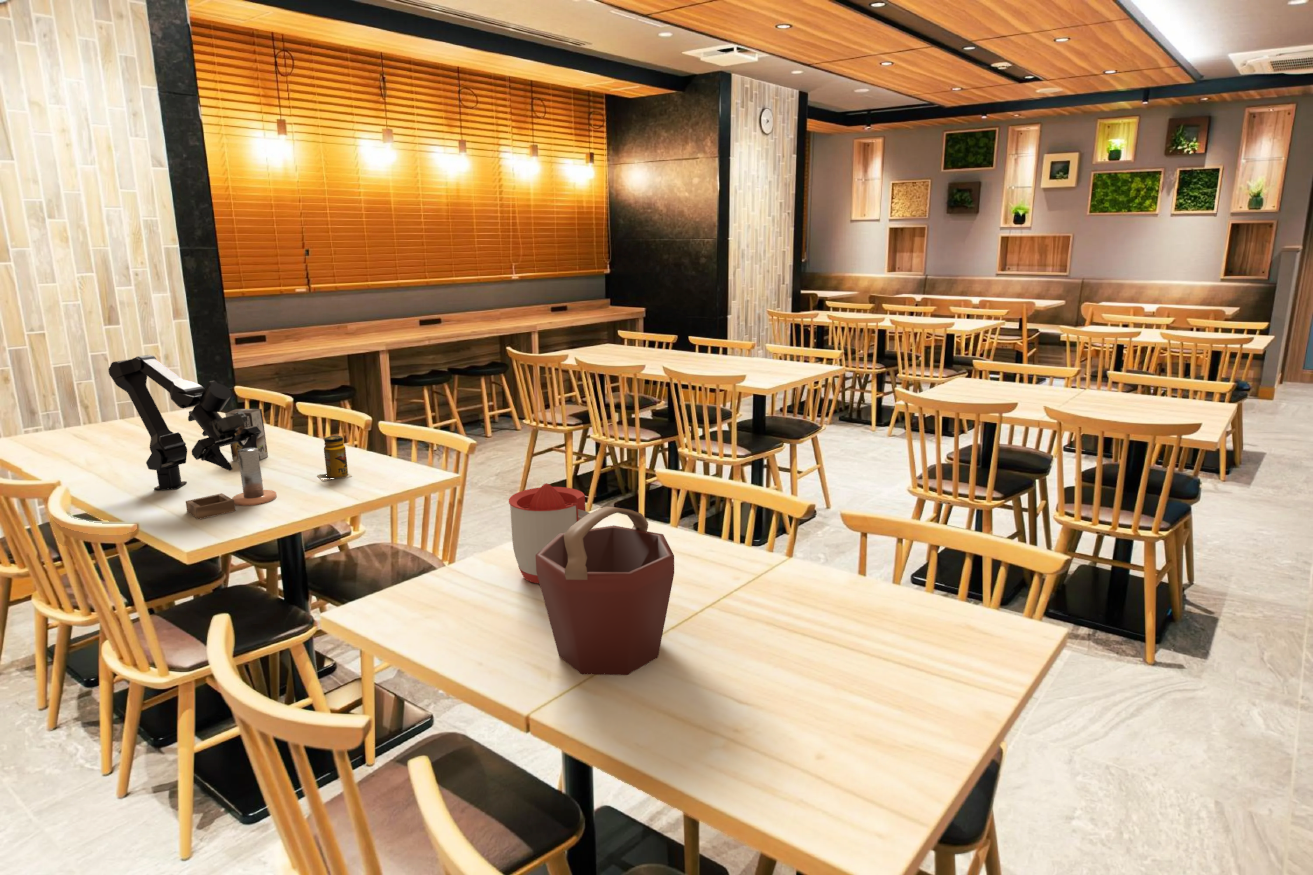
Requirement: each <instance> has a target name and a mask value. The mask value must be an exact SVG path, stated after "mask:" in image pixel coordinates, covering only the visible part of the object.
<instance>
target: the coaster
mask: <svg viewBox="0 0 1313 875" xmlns="http://www.w3.org/2000/svg"><path fill="white" fill-rule="evenodd" d="M263 491H264V495H263V496H261V497H258V498H244V494H243V492H240V493H239V494H235V495H234V496H233V497H231V499H233V500H234V503H235V506H243V507H244V506H256V505H262V504H267V503H268V502H272V501H274V500H275V499H276V498H277V492H276V491H275V490H272V489H263ZM273 499H274V500H273ZM261 503H262V504H261Z"/></svg>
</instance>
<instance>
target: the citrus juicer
mask: <svg viewBox="0 0 1313 875" xmlns="http://www.w3.org/2000/svg"><path fill="white" fill-rule="evenodd" d="M508 504H509V507H510V524H511V538H512V539H511V540H512V541H511V542H512V547H513V548H512V549H513V552H514V558H515V561H516V563H517V565H518V569H519V571H520V573H521V575H522V577H523V579H525V580H526V581H528V582H531V583H535V584H540V583H539V580H538V576H537V572H536V554H537V553H538V552H539V551H540V550H541V549H543V548H544V547H545V546H546V545H547V544H548V543H549V542H551V541H552V540H553V539H554V538H555V537H556V536H557V535H558V534H561V533H566V532H567V531H568V529H569V528H570V527H571V526H572V525H574V524H575V523H576V522H577V521H579V520H580V519H582V518H583V517H585V516H586V515H587V514H589V513H590V512H588V511H586V510H587V509H586V495H585V494H584V492H582V491H581V490H580V489H579V490H578V489H576V488H571V487H564V486H552V485H551V484H549V483H547V482H546V483H544V484H543V485H541V486H540V487H535V488H529V489H525V490H521V491H518V492H516V493H513V495H511V496H510V497H509V499H508Z"/></svg>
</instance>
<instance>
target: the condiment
mask: <svg viewBox="0 0 1313 875" xmlns="http://www.w3.org/2000/svg"><path fill="white" fill-rule="evenodd" d="M323 441H324V447H323V452H324V454H323V455H324V462H325V472H326V473H324V474H323V473H322V474H317V477H318V478H319V479H320V478H340V479H345V478H351V477H352V474H350V473H349V470H348V460H347V452H346V446H345V444H344V437H343V436H342V435H331V436H327V437H324V439H323ZM326 475H327V476H326ZM320 480H321V481H322V482H324V481H331V479H324V480H323V479H320Z"/></svg>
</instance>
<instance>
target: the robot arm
mask: <svg viewBox="0 0 1313 875" xmlns="http://www.w3.org/2000/svg"><path fill="white" fill-rule="evenodd" d="M108 374H109V376H110V378H111V379H112V381H113V382H114V384H115V385H116V386H117V387H118V388H119V389H121V390H122V391H125V393H127V395H128V396H129V398H130V400H131V402H132V404H133V406H134V408H135V409H136V412H137V413H138V415H139V417H140V419H141V421H142V423H143V425H144V427H145V429H146V430H147V433H148V434H149V437H150V442H149V450H150V452H151V454H150V456H148V458H147V460H146V461H145V464H146V466H147V468H148V470H152V471H156V476H157V483H158V485H157V486H155V487H154V488H153V490H154V491H161V490H162V491H163V490H178V489H180V488H181V487H183V486H185V485H186V484H187V483H188V482H187V480H186V481H182V478H181V471H180V466H181V465H184V464H186V463H187V456H188V448H187V446H186V445H187V443H186V442H185V441H184V439H183V436H182V435H181V433H180V432H173V431H171V430H170V428H169V426H168V425H167V423H166V421H165V419H164V417H163V415H162V414H161V411H160V410H159V408H158V406H157V404H156V402H155V400H154V397H153V396H152V395H151V394H152V393H150V391H149V389H148V387H147V381H148V378H150V379H151V380H152V381H154V382H155V383H156V384H158V385H159V386H160V387H162V388H163V390H166V392H168V393H169V396H170V400H171V401H172V402H174V404H175V405H176V406H177V407H178V408H180V409H188V408H189V409H190V408H192V407H193V409H191V410H189V411H188V417H187V420H188V422H193V421H195V422H196V423H197V424H198V425H199V427H200V428H201V429H202V433H201V435H202V436H203V437H205V438H201V439H198V440H197V441H196V443H195V444H194V446H193V448H192V449H191V455H192V457H193V458H194V459H195V460H196V461H198V460H201V461H203V462H204V461H205V462H208V463H211V464H213V465H216V466H218V467H221V468H223V469H224V470H228V471H229V472H231V471H232V470H233V467H232V465H231V463H230V461H228V459H227V458H226V457H225V455H224V454H223V452H222V451H221V447H225V446H229V445H230V444H233V443H237V442H238V444H239V445H240V446H243V447H242V449H244V448H257V444H256V440H257V438H258V437H259V435H260V433H261V431H260V430H259V428H258V427H257V426H251V427H248V428H244V429H243V430H242V432H241V433H240V435H236V436H235V433H237V431H238V427H240V426H242V425H245V422H246V421H247V420H248V419H247V416H246V415H245V414H244V413H243V412H242V411H240V412H237V413H235V414H234V415H232V416H228V417H226V416H225V417H223V416H222V415H220V414H219V412H221V411H222V410H224V408H225V406H226V404H227V403H228V402H229V400H230V399H231V397H232V391H231V389H230V388H229V387H227V386H225V385H224V384H221V383H219V382H217V381H216V380H210V381H208V382H207V383H206V386H205V388H204V386H202V385H201V384H199V383H197V382H195V381H192V380H187V379H185V378H182V377H180V376H179V375H178V374H176V373H175V372H174V371H172V370H171V369H169V368H168V367H167V366H166V365H164V364H163V363H161V362H160V361H158V359H157V358H156V356H155V355H152V354H147V355H146V354H145V355H139V356H136V357H133V358H132V359H131V358H130V359H124V360H123V359H122V360H117V361H112V362H111V363H110V365H109V367H108ZM258 453H259V452H258ZM259 460H260V461H261V460H262V459H260V455H259Z"/></svg>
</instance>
